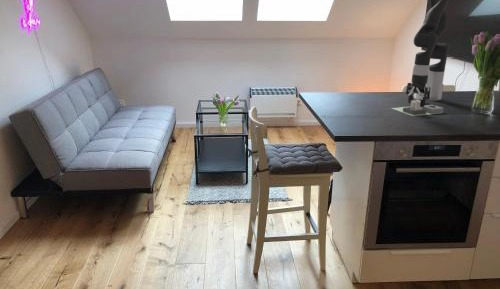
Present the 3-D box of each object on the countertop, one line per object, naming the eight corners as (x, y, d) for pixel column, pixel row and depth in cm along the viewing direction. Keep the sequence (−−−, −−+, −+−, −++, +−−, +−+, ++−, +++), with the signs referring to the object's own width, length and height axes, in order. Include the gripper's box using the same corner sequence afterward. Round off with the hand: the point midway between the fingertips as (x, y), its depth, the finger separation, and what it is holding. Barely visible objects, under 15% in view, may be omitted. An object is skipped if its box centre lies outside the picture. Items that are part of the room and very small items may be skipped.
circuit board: (419, 107, 227) (421, 100, 226) (443, 114, 212) (444, 107, 211) (390, 110, 221) (391, 102, 219) (412, 117, 206) (413, 110, 204)
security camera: (426, 106, 230) (428, 88, 227) (413, 105, 231) (415, 88, 228) (423, 103, 236) (426, 86, 233) (411, 103, 237) (413, 86, 234)
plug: (415, 111, 215) (417, 100, 213) (421, 112, 211) (422, 101, 209) (408, 111, 213) (409, 100, 211) (413, 113, 210) (415, 102, 208)
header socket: (415, 110, 217) (416, 106, 216) (425, 113, 210) (426, 109, 210) (402, 111, 214) (403, 107, 213) (412, 114, 207) (413, 111, 207)
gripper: (437, 75, 201) (431, 107, 206) (416, 71, 213) (412, 101, 219) (425, 76, 198) (420, 108, 203) (404, 71, 211) (400, 102, 216)
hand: (415, 104), depth 211 cm, fingers open, 8 cm apart
